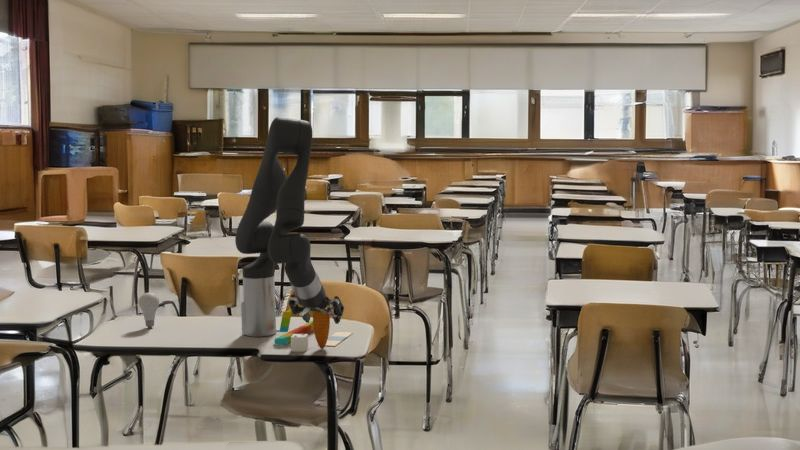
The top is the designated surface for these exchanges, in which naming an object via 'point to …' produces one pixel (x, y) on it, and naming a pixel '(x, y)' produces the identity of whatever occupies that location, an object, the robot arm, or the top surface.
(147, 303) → the lightbulb
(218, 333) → the top surface
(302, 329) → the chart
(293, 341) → the die
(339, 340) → the flat strip
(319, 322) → the carrot
